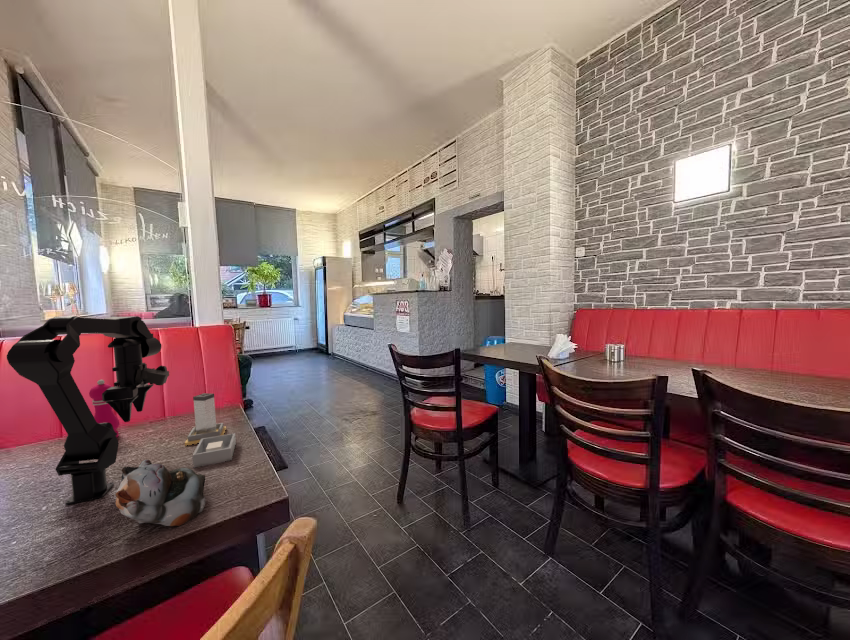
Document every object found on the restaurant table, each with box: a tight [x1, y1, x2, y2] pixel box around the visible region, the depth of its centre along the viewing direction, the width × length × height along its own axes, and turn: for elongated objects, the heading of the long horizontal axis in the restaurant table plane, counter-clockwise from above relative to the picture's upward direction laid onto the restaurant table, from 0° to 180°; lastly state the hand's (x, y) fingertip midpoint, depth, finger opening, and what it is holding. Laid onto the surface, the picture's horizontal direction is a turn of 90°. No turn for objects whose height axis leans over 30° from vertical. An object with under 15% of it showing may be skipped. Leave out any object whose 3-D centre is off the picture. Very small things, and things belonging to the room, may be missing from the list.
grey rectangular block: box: [192, 392, 217, 435], centre depth 111 cm, size 4×4×13 cm
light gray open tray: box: [192, 432, 237, 468], centre depth 98 cm, size 12×9×4 cm
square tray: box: [184, 422, 227, 447], centre depth 111 cm, size 10×10×3 cm
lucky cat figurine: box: [114, 459, 207, 527], centre depth 69 cm, size 15×12×14 cm
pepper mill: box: [88, 379, 121, 438], centre depth 112 cm, size 7×7×20 cm
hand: (133, 416), depth 94 cm, fingers open, 9 cm apart
